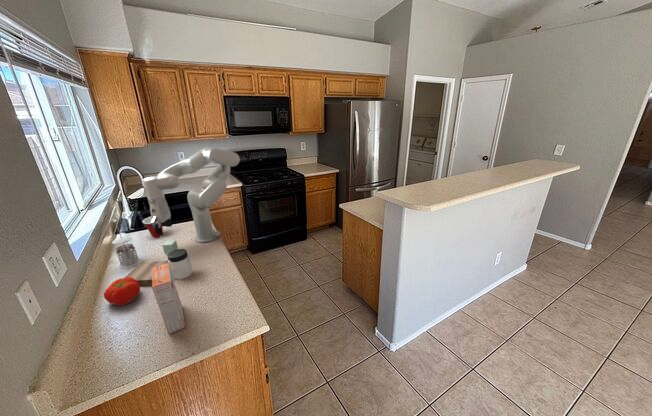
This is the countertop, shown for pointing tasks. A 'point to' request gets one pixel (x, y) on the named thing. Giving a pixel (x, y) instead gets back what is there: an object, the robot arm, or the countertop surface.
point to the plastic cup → (151, 228)
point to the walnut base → (144, 272)
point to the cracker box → (167, 298)
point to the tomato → (122, 291)
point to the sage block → (170, 246)
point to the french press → (126, 251)
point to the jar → (179, 264)
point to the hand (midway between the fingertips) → (164, 230)
